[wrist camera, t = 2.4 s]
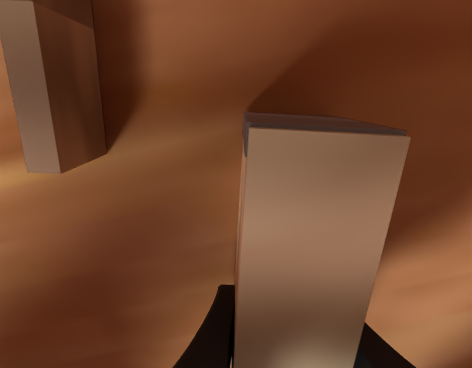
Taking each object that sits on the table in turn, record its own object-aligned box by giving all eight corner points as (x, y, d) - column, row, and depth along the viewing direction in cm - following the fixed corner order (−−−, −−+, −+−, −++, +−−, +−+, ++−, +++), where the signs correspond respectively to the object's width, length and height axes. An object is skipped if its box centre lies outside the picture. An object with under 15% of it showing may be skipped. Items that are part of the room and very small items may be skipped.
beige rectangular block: (297, 350, 14) (326, 477, 10) (229, 347, 14) (224, 473, 9) (335, 116, 11) (414, 132, 6) (243, 111, 11) (247, 123, 6)
